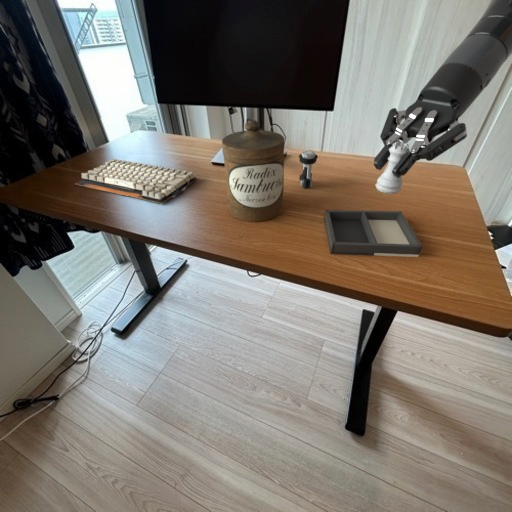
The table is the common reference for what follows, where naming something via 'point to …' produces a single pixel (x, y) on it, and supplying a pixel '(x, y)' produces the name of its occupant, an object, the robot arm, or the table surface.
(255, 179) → the wooden container
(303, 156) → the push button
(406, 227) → the sorting tray
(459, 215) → the table surface
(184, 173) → the mechanical keyboard
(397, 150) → the rook chess piece
